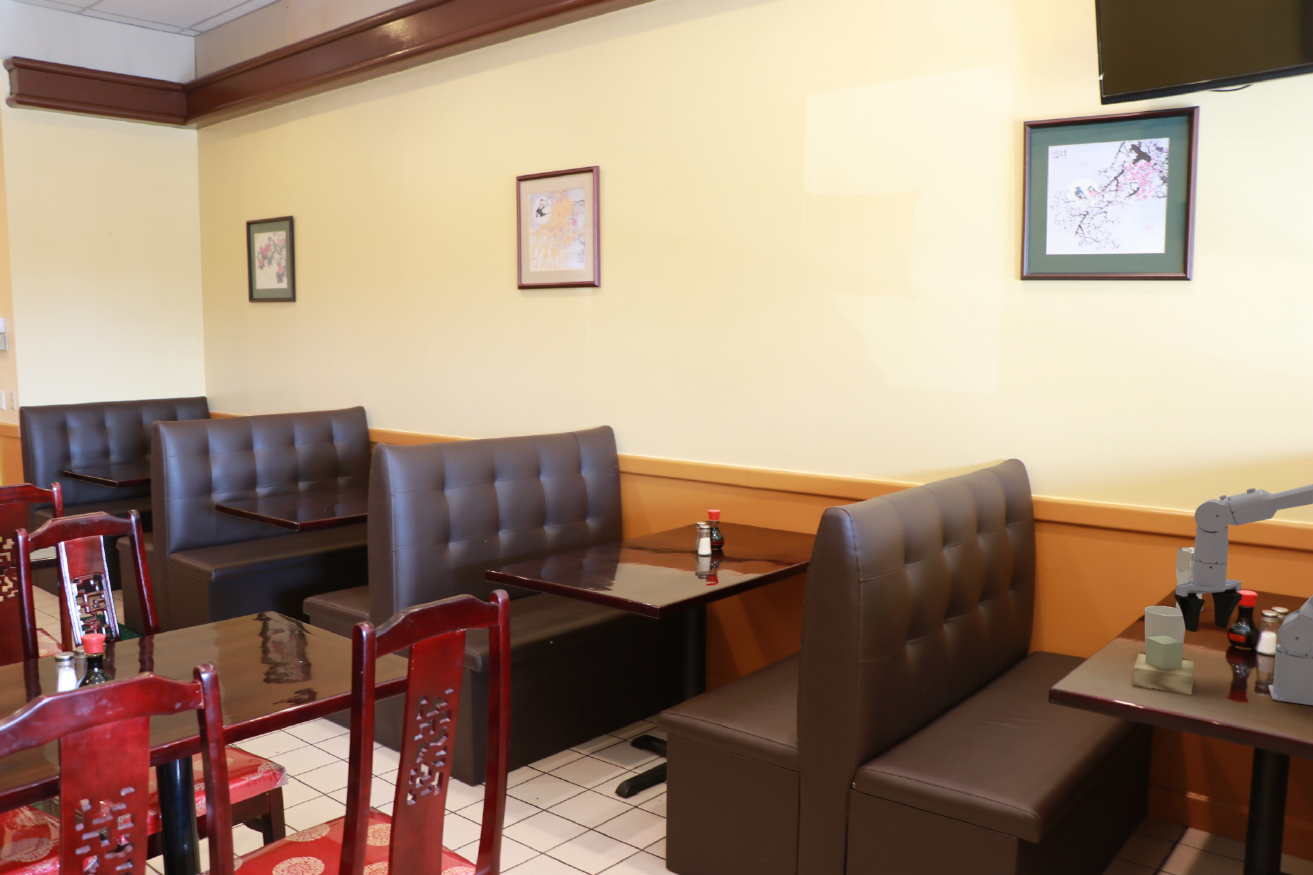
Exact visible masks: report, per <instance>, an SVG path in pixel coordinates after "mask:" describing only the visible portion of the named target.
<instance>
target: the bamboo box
mask: <svg viewBox="0 0 1313 875" xmlns="http://www.w3.org/2000/svg"><path fill="white" fill-rule="evenodd" d="M1194 673H1195V661H1192V660H1185V659H1183V661H1182V667H1181V668H1172V669H1160V668H1158V667H1156V666H1153V665H1151V664H1149V663H1146V662H1145V654H1144V653H1137V656H1136V660H1135V663H1134V666H1133V684H1132V685H1135V686H1134V687H1139V686H1143V687H1142V688H1146V687H1147V688H1148V689H1152V688H1156V689H1155V690H1158V689H1160V691H1165V692H1172V693H1178V694H1185V695H1191V696H1192V695H1193V694H1192V693H1193V685H1194Z"/></svg>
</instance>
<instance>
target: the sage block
mask: <svg viewBox="0 0 1313 875" xmlns="http://www.w3.org/2000/svg"><path fill="white" fill-rule="evenodd" d="M1184 643H1185V642H1181V641H1179V640H1176V639H1173V638H1171V637H1168V636H1155V637H1146V642H1145V654H1144V655H1145V662H1146V663H1149V664H1151V665H1153V666H1156V667H1158V668H1160V669H1172V668H1181V667H1182V661H1183V660H1184V659H1183V658H1184V657H1183V656H1184Z"/></svg>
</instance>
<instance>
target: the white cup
mask: <svg viewBox="0 0 1313 875" xmlns="http://www.w3.org/2000/svg"><path fill="white" fill-rule="evenodd" d="M1185 633H1186V628H1185V624H1184V619H1183V615H1182V612H1181V609H1177V608H1176V607H1171V606H1165V605H1164V606H1163V605H1152V606H1151V605H1150V606H1146V607H1145V608H1144V642H1145V643H1146V637H1155V636H1168V637H1171V638H1173V639H1176V640H1179V641H1181V642H1184V640H1185ZM1184 643H1185V642H1184Z"/></svg>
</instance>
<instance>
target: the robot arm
mask: <svg viewBox="0 0 1313 875" xmlns="http://www.w3.org/2000/svg"><path fill="white" fill-rule="evenodd" d="M1308 505H1313V484H1312V483H1311V484H1307V485H1304V486H1300V487H1296V488H1291V489H1288V490H1284V491H1280V492H1275V493H1271V492H1269V491H1267V490H1265V489H1262V488H1261V489H1257V490H1256V488H1255V487H1251V488H1248V489H1246V492H1243V493H1239V494H1235V495H1229V496H1227V495H1226V494H1224V495H1223V494H1222V495H1220V496H1219V499H1218V498H1217V499H1216V498H1213V499H1212V498H1211V499H1209V500H1206V501H1204V502H1203V503H1201V504H1200V505H1199V506H1198V507H1197V508H1196V510H1195V512H1194V521H1195V523H1196V528H1195V532H1196V536H1195V537H1194V548H1195V549H1194V566H1193V578H1192V579H1189V582H1186V583H1183V584H1178V585H1177V584H1175V592H1174V599H1175V601H1176V602H1178V604H1179V607H1180V609H1181V612H1182V615H1183V619H1184V624H1185V631H1190V632H1192V633H1196V632H1197V631H1198V628H1199V622H1200V615H1201V612H1202V611H1201V609H1202V607H1203V608H1204V604H1205V603H1206V600H1205V599H1200V598H1198V596H1197V594H1202V595H1203V594H1211V595H1212V600H1213V608H1214V626H1215V627H1217V628H1221V629H1223V630H1225V629H1227V627H1228V625H1229V622H1230V620H1231V617H1232V614H1233V612H1234V610H1235V608H1236V607H1237V605H1238V604H1239V603H1240V602H1241V601H1242V599H1243V594H1242V593H1239V592H1241V591H1242V581H1240V580H1236V579H1233V578H1232V579H1227V572H1228V571H1227V570H1228V569H1227V568H1228V556H1229V555H1228V554H1229V553H1228V552H1229V541H1230V540H1229V526H1228V525H1230V526H1235V527H1236V526H1242V525H1245V524H1251V523H1255V522H1256V523H1257V522H1261V521H1266V520H1271V519H1272V518H1273V517H1274V516H1275V515H1276V513H1277V512H1278V511H1280V510H1285V509H1291V508H1292V509H1293V508H1297V507H1302V506H1303V507H1304V506H1308ZM1281 624H1282V625H1281V626H1280V627H1279V628H1278V630H1277V633H1276V639H1277V642H1278V643H1276V645H1275V655H1274V656H1275V657H1274V668H1273V670H1274V672H1273V682H1272V683H1273V684H1268V690H1269V693H1270V695H1271V698H1272V700H1273V701H1278V702H1287V703H1293V704H1300V705H1301V704H1302V705H1308V706H1313V594H1312V595H1311V596H1310V597H1309V598H1308V599H1307V600H1306V602H1304V603H1303V604H1302V606H1301V607H1299V609H1297V610H1296V611H1293V612H1290V613H1289V614H1287V615H1285V617H1284V618H1283V620H1282V623H1281Z"/></svg>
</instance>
